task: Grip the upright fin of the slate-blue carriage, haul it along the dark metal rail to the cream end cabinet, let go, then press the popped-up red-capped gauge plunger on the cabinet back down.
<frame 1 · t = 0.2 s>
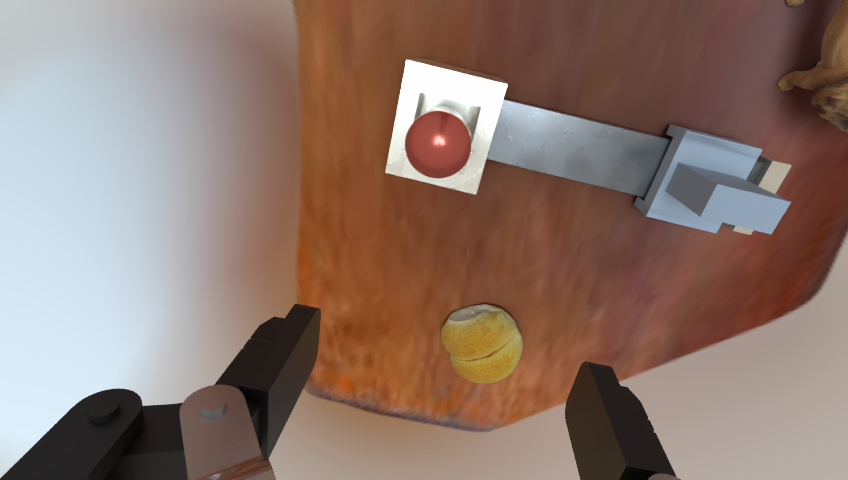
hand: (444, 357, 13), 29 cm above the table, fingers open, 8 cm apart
lion figurine: (814, 36, 33), on the table
carriage: (711, 189, 33), point 5 cm above the table, slide at 0.0 cm
bread roll: (480, 335, 48), on the table
rail station: (459, 117, 38), on the table
gauge plunger: (440, 137, 29), point 10 cm above the table, slide at 0.0 cm
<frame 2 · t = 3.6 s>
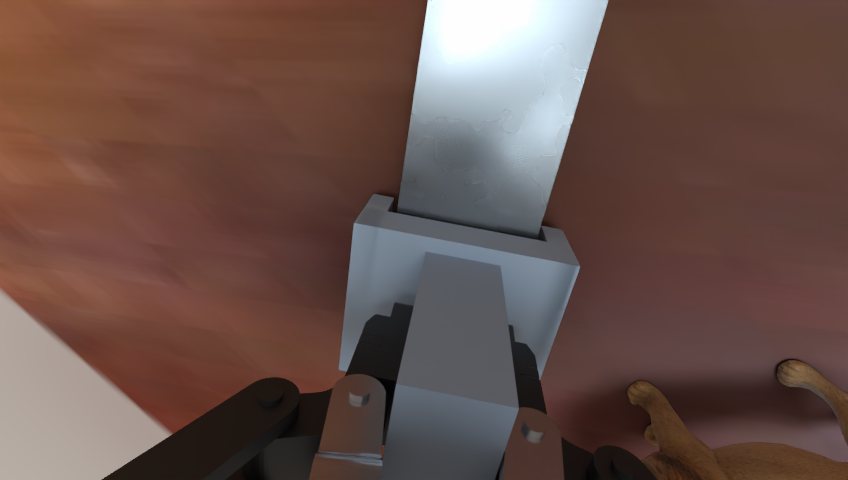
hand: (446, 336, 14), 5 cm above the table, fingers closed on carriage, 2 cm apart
lion figurine: (711, 408, 20), on the table
carriage: (446, 350, 14), point 5 cm above the table, slide at 0.0 cm, touching gripper
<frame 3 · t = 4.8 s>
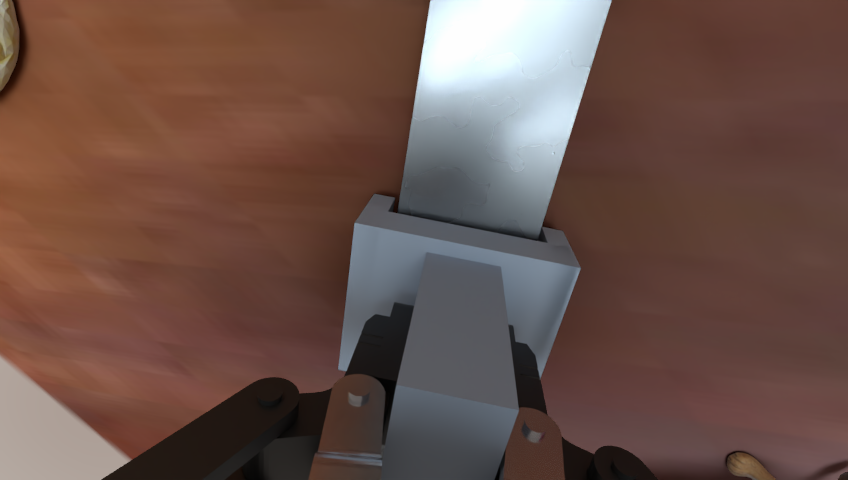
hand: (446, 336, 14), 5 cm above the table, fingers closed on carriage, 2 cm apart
carriage: (446, 351, 14), point 5 cm above the table, slide at 5.6 cm, touching gripper
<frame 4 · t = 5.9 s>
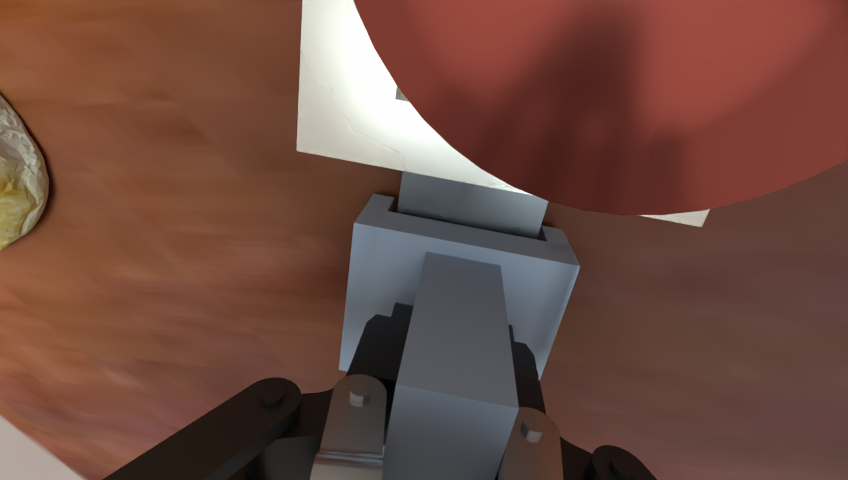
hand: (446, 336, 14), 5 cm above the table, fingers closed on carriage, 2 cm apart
carriage: (446, 350, 14), point 5 cm above the table, slide at 11.3 cm, touching gripper
rail station: (501, 48, 15), on the table
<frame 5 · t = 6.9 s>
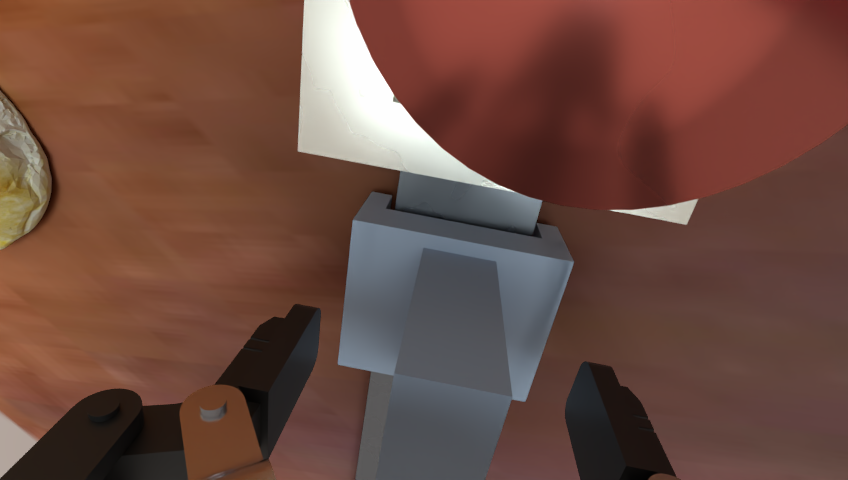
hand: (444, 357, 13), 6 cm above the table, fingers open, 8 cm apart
carriage: (443, 344, 14), point 5 cm above the table, slide at 11.4 cm
rail station: (497, 51, 15), on the table
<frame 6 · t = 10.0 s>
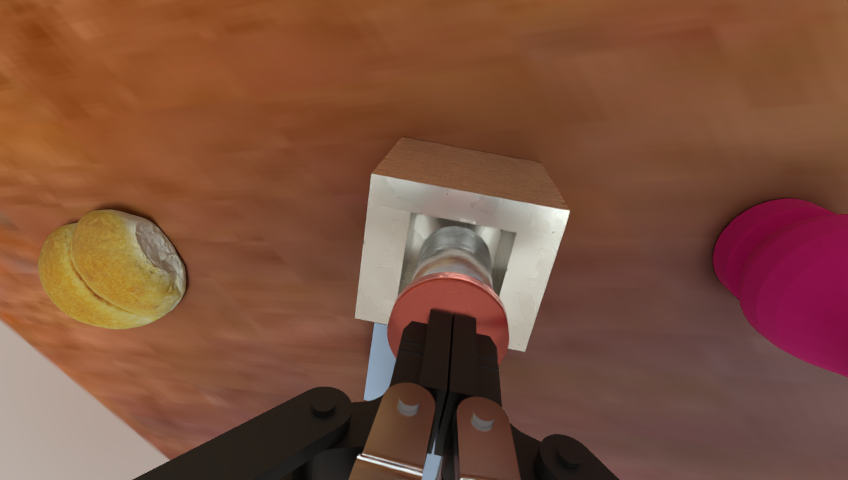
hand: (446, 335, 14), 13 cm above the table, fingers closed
pepper mill: (768, 247, 25), on the table
carriage: (424, 392, 25), point 5 cm above the table, slide at 11.4 cm
bread roll: (131, 260, 31), on the table
rail station: (456, 222, 26), on the table
gauge plunger: (451, 292, 17), point 10 cm above the table, slide at 0.4 cm, touching gripper
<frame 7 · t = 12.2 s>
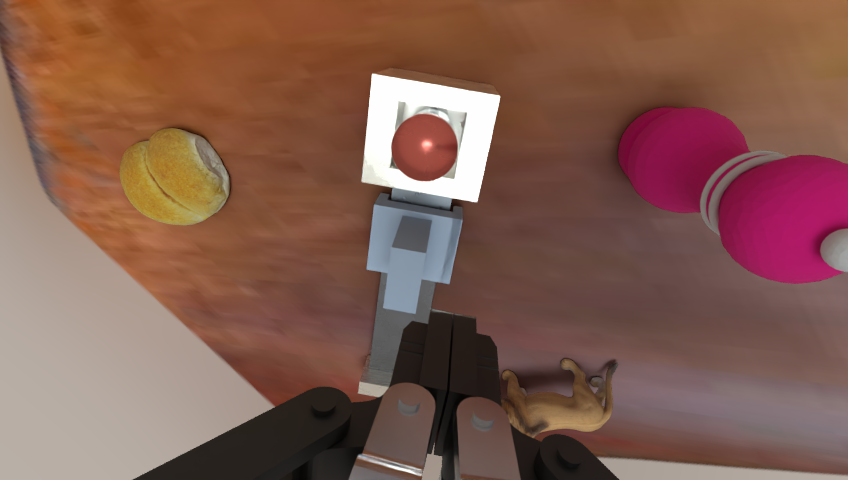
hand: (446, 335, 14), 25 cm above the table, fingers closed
pepper mill: (657, 146, 35), on the table
lion figurine: (540, 380, 46), on the table
carriage: (410, 253, 35), point 5 cm above the table, slide at 11.4 cm
bread roll: (185, 173, 40), on the table
rail station: (432, 133, 36), on the table
gauge plunger: (427, 139, 29), point 7 cm above the table, slide at 2.9 cm
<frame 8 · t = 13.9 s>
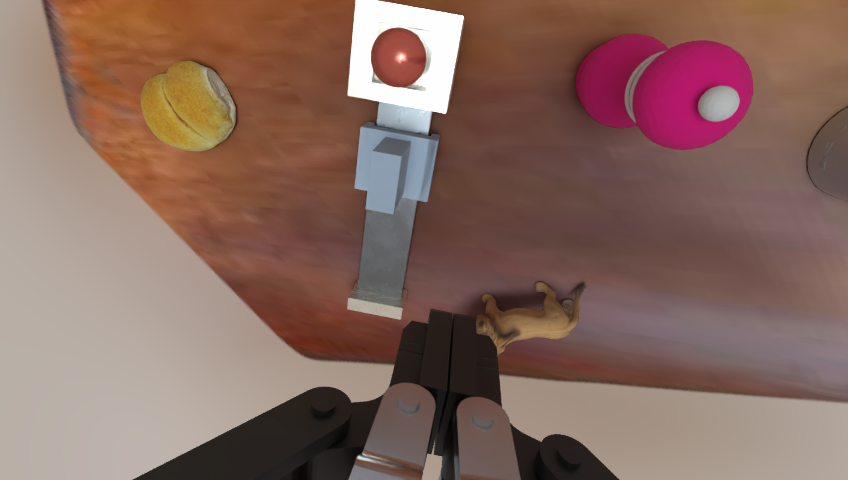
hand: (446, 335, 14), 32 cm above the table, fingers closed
pepper mill: (609, 79, 40), on the table
lion figurine: (517, 304, 51), on the table
carriage: (392, 169, 40), point 5 cm above the table, slide at 11.4 cm
bread roll: (197, 105, 45), on the table
rail station: (413, 67, 41), on the table
gauge plunger: (403, 57, 34), point 7 cm above the table, slide at 2.9 cm
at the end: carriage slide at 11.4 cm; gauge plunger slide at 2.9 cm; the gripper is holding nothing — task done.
